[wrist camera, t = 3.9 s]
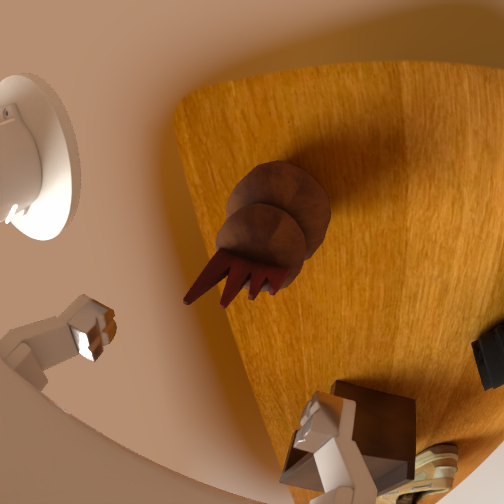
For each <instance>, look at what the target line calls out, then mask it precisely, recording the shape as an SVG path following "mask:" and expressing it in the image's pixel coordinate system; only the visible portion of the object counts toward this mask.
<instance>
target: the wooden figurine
mask: <svg viewBox="0 0 504 504" xmlns="http://www.w3.org/2000/svg"><path fill="white" fill-rule="evenodd" d="M330 218H331V211H330V203H329V197H328V195H327V193H326V191H325V190H324V189H323V188H322V187H321V185H320V184H319V183H318V182H317V180H316V179H315V178H314V177H312V176H311V175H310V174H309V173H308V172H307V171H305V170H303V169H301V168H299V167H297V166H295V165H293V164H289V163H286V162H282V161H278V160H277V161H272V162H268V163H264V164H260V165H257V166H256V167H255V168H254V169H253V170H252V171H251V172H249V173H248V174H247V175H246V176H245V177H244V178H243V179H242V180H241V181H240V182H239V183H238V184H237V185H236V186H235V188H234V190H233V192H232V193H231V195H230V197H229V199H228V202H227V213H226V221H225V223H224V224H223V226H222V227H221V229H220V231H219V232H218V234H217V239H216V253H215V255H214V256H213V257H212V259H211V260H210V261H209V263H208V264H207V266H206V267H205V268H204V270H203V271H202V273H201V274H200V276H199V277H198V278H197V280H196V282H195V283H194V284H193V286H192V287H191V288H190V290H189V291H188V293H187V294H186V296H185V297H184V299H183V303H184V304H186V305H189V304H191V303H192V302H193V301H195V300H196V299H197V298H199V297H200V296H201V295H203V294H204V293H205V292H207V291H208V290H209V289H211V288H212V287H213V286H215V285H216V284H217V283H218V282H220V281H221V280H222V279H224V278H225V277H226V276H228V278H227V281H226V285H225V288H224V291H223V295H222V298H221V301H220V307H221V308H223V309H225V308H226V307H227V306H228V305H229V304H230V302H231V301H232V300H233V299H234V297H235V296H236V295H237V294H238V293H239V291H240V290H241V289H242V288H245V289H247V290H249V296H248V299H249V300H254V299H255V298H256V296H257V295H258V293H259V292H265V291H269V294H270V295H275V294H276V293H277V291H278V290H280V289H282V288H285V287H288V286H289V285H290V284H291V283H292V281H293V280H294V279H295V278H296V276H297V275H298V274H299V273H300V271H301V269H302V266H303V262H304V261H305V260H307V259H309V258H311V256H312V255H313V254H314V252H315V251H316V250H317V248H318V247H319V246H320V245H321V244H322V242H323V240H324V237H325V234H326V231H327V228H328V225H329V222H330Z"/></svg>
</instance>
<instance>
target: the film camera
mask: <svg viewBox="0 0 504 504" xmlns="http://www.w3.org/2000/svg"><path fill="white" fill-rule="evenodd" d="M471 344H472V348H473V353H474V357H475V361H476V364H477V367H478V371H479V374H480V378H481V382H482V385H483V387H484V390H485V391H486V390H488V389H490V388H492V387H493V389H495V388H498V387H500V386H501V385H503V384H504V324H503V325H498V326H497V327H495V328H494V329H493V330H492V331H489V332H487V333H485V334H483V335H482V336H480V337H479V339H478V340H477V341H474V342H472V343H471Z"/></svg>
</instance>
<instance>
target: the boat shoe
mask: <svg viewBox="0 0 504 504" xmlns="http://www.w3.org/2000/svg"><path fill="white" fill-rule="evenodd" d="M457 461H458V448H457V447H456V446H454V445H435V446H432V447H430V448H428V449H426V450H424V451H422V452H421V453H419V454H417V455H416V460H415V479H414V480H413V481H411V482H409V483H407V484H405V485H403V486H401V487H399V488H397V489H395V490H392V491H390V492H388V493H386V494H383V495H381V496H379V497H377V498H376V504H417V503H418V502H419V501H420V500H421V499H422V498H423V497H426V496H429V495H432V494H436V493H443V492H446V491H448V490H450V489H451V488H452V484H453V480H454V476H455V473H456V472H457V470H458V468H457Z"/></svg>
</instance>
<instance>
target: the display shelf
mask: <svg viewBox="0 0 504 504" xmlns="http://www.w3.org/2000/svg"><path fill="white" fill-rule="evenodd" d="M330 395H334V396H338V397H342V398H344V399H348V400H352V401H355V403H356V409H355V417H354V426H353V433H352V441H355V442H356V444H357V447H358V449H359V451H360V453H361V455H362V457H363V460H364V462H365V464H366V466H367V468H368V470H369V473H370V475H371V477H372V479H373V481H374V484H375V486H376V488H377V490H378V491H377V497H379V496H381V495H383V494H386V493H388V492H390V491H392V490H395V489H397V488H399V487H401V486H403V485H405V484H407V483H409V482H411V481H413V480H414V479H415V460H416V403H415V400H413V399H409V398H404V397H400V396H395V395H391V394H387V393H383V392H379V391H375V390H371V389H367V388H363V387H359V386H355V385H352V384H348V383H344V382H341V381H337V380H336V381H335V382H334V384H333V385H332V386H331V392H330ZM297 432H298V431H295V432H294V433H293V435H292V439H291V443H290V447H289V450H288V454H287V458H286V461H285V465H284V468H283V472H282V476H281V479H280V483H283V484H287V485H291V486H295V487H300V488H304V489H309V490H314V491H319V492H325V490H324V487H323V484H322V481H321V477H320V474H319V471H318V467H317V464H316V461H315V458H314V453H311V452H308V451H304V450H301V449H297V448H294V447H293V446H294V442H295V438H296V434H297Z"/></svg>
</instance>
